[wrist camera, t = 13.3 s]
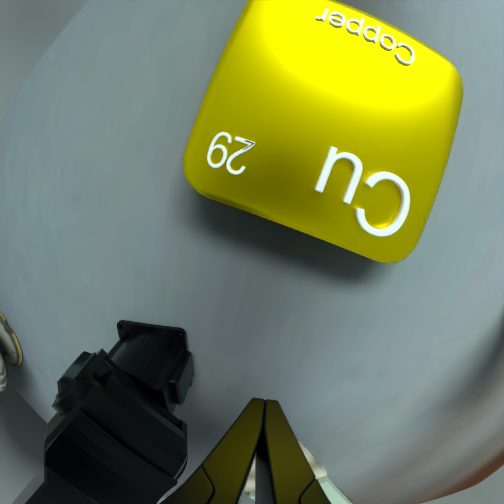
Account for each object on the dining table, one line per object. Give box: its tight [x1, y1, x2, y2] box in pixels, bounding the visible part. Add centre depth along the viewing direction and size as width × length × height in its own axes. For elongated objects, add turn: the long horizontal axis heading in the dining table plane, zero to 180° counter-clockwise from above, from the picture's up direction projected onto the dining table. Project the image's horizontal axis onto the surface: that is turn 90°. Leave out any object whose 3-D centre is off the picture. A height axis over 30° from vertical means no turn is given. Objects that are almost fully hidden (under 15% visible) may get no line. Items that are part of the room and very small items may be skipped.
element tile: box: [183, 0, 463, 263], centre depth 15 cm, size 15×15×5 cm
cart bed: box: [203, 440, 327, 492], centre depth 28 cm, size 10×13×1 cm
